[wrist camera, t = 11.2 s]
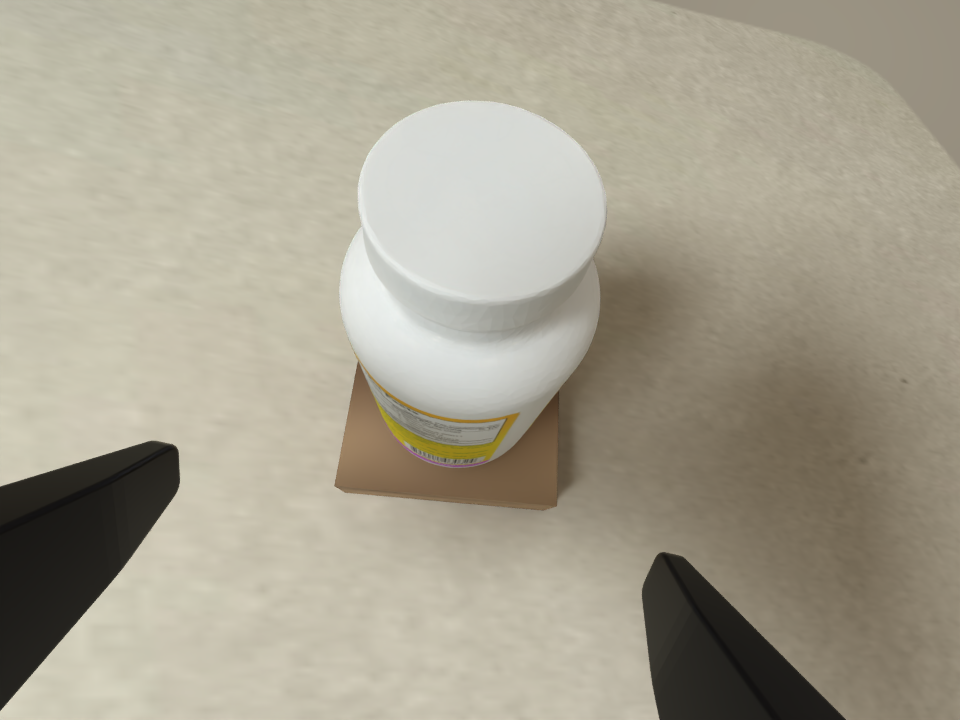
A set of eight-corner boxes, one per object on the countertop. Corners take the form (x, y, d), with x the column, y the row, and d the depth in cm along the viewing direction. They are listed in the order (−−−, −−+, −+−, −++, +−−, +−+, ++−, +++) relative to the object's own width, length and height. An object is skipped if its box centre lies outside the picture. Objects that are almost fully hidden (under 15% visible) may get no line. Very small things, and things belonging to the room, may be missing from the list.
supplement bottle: (480, 302, 22) (535, 26, 10) (561, 419, 21) (737, 247, 9) (351, 369, 21) (238, 128, 9) (428, 503, 19) (419, 433, 7)
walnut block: (543, 510, 22) (557, 506, 19) (345, 492, 21) (334, 485, 19) (548, 332, 25) (560, 311, 23) (377, 313, 24) (371, 289, 22)
